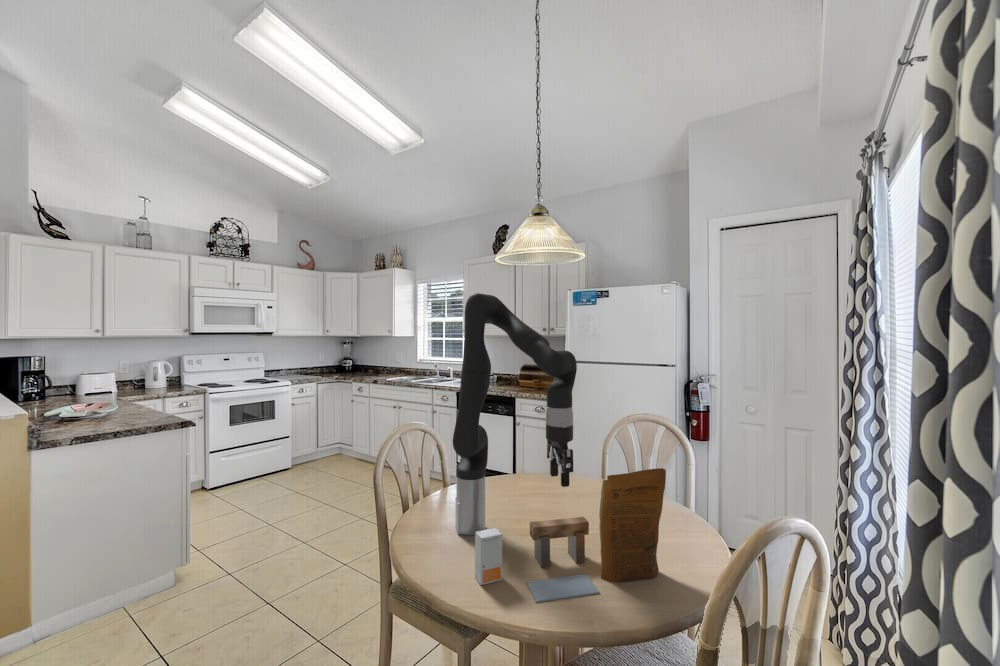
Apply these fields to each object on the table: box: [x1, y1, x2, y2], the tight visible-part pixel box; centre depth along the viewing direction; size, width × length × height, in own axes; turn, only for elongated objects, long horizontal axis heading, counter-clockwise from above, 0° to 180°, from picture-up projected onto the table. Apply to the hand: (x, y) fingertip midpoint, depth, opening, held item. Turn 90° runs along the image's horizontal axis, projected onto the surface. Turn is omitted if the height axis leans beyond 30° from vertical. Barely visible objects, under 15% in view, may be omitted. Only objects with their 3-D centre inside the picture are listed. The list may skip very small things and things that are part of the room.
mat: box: [526, 573, 601, 603], centre depth 109 cm, size 16×8×1 cm, turn 103°
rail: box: [529, 516, 590, 542], centre depth 122 cm, size 16×4×4 cm, turn 103°
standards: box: [534, 531, 586, 569], centre depth 122 cm, size 12×6×8 cm, turn 103°
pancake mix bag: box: [598, 467, 667, 583], centre depth 114 cm, size 7×19×28 cm, turn 101°
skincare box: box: [474, 527, 503, 586], centre depth 113 cm, size 6×4×12 cm
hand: (559, 481), depth 122 cm, fingers open, 8 cm apart
